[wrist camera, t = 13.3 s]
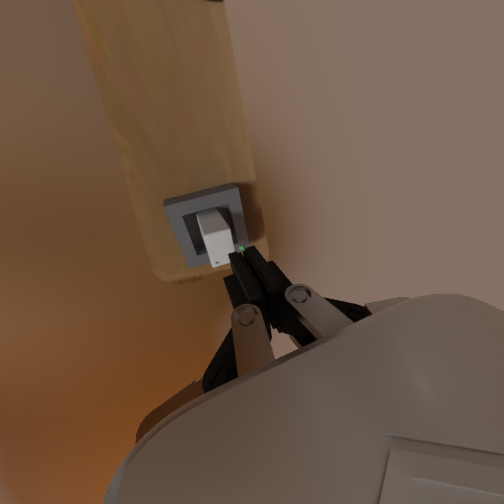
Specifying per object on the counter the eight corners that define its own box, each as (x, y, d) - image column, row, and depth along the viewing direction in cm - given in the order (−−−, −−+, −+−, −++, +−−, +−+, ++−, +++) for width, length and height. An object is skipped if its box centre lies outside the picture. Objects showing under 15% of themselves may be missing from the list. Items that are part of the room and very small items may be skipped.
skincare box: (222, 232, 42) (237, 261, 32) (202, 238, 41) (212, 269, 31) (216, 205, 39) (231, 228, 29) (194, 210, 38) (202, 235, 28)
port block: (163, 199, 35) (163, 207, 31) (231, 182, 38) (238, 187, 34) (188, 258, 43) (189, 270, 39) (244, 240, 45) (251, 250, 41)
